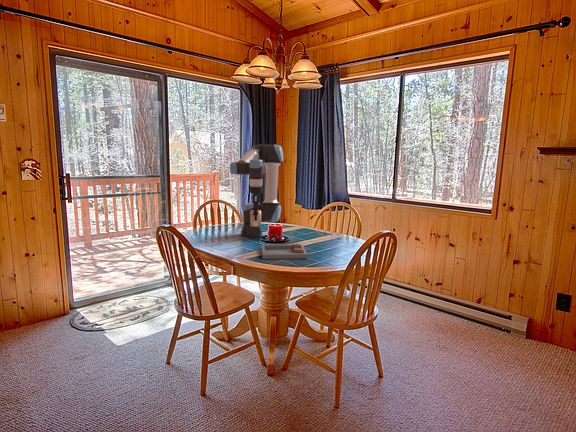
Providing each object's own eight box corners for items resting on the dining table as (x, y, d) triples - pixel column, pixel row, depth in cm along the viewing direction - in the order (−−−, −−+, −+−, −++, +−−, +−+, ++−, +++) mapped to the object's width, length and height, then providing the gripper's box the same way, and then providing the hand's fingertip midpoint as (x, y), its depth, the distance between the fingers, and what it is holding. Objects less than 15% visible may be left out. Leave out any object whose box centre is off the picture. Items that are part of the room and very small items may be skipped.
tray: (261, 249, 223) (261, 244, 223) (302, 249, 226) (302, 244, 225) (262, 259, 203) (262, 254, 202) (307, 259, 205) (307, 254, 205)
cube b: (295, 254, 212) (295, 247, 212) (301, 254, 212) (302, 248, 211) (294, 256, 208) (294, 249, 208) (301, 256, 208) (301, 250, 207)
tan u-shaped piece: (250, 224, 219) (250, 209, 218) (261, 224, 219) (261, 209, 218) (250, 226, 213) (250, 211, 211) (261, 226, 213) (261, 211, 212)
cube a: (291, 250, 221) (292, 243, 221) (298, 249, 222) (298, 243, 222) (293, 251, 217) (293, 245, 217) (300, 251, 219) (300, 245, 218)
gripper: (250, 184, 221) (250, 221, 225) (248, 187, 202) (248, 228, 206) (262, 184, 222) (262, 221, 226) (262, 187, 203) (261, 228, 207)
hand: (255, 224), depth 216 cm, fingers closed on tan u-shaped piece, 6 cm apart
